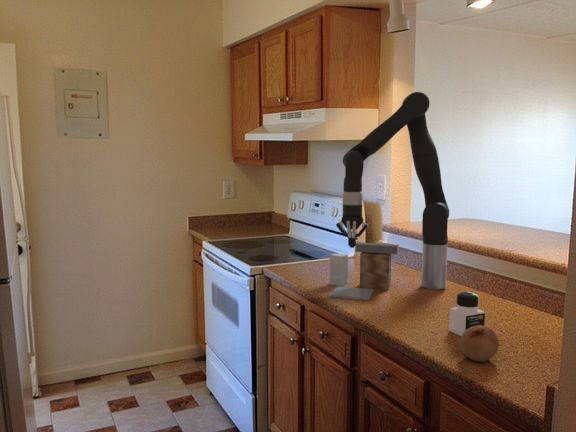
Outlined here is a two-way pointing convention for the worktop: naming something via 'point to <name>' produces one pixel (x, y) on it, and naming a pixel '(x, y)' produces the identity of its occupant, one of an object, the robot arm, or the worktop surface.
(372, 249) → the bar
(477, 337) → the onion
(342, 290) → the slate pad
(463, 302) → the medicine bottle
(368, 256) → the walnut block
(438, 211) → the robot arm
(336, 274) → the skincare box
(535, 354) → the worktop surface
